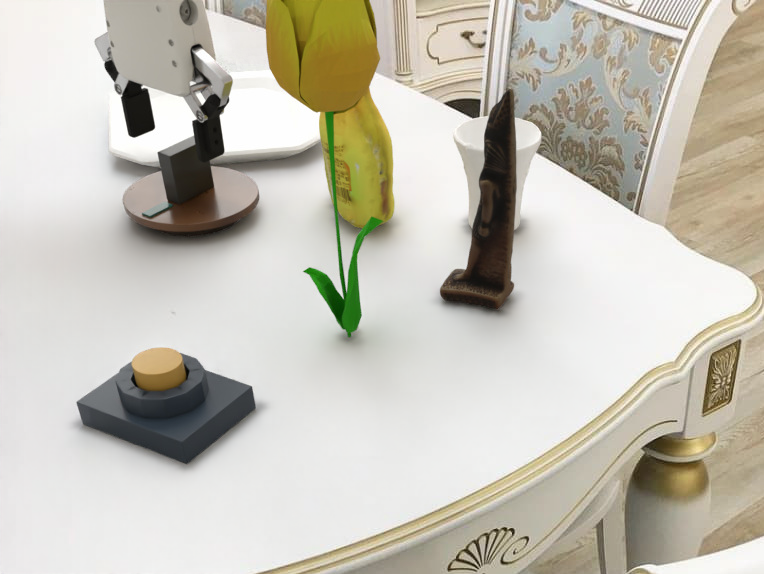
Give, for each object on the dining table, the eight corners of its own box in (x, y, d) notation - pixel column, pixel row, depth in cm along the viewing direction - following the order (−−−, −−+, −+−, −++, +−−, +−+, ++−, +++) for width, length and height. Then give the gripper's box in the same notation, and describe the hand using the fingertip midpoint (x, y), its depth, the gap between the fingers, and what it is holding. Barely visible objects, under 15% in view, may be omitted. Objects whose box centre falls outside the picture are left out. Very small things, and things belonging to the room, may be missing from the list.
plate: (309, 84, 144) (307, 66, 143) (334, 164, 128) (332, 144, 126) (112, 98, 140) (108, 79, 138) (112, 182, 123) (107, 162, 122)
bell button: (125, 384, 90) (120, 365, 88) (158, 360, 92) (154, 342, 91) (164, 398, 88) (159, 379, 87) (196, 374, 91) (192, 355, 90)
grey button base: (82, 424, 92) (69, 383, 89) (155, 372, 97) (145, 331, 94) (187, 464, 88) (177, 422, 85) (256, 408, 94) (249, 367, 91)
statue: (454, 282, 109) (449, 66, 95) (521, 295, 108) (527, 78, 93) (438, 302, 107) (431, 83, 92) (507, 316, 105) (511, 96, 91)
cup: (435, 227, 117) (432, 131, 110) (494, 199, 122) (494, 105, 115) (497, 255, 113) (498, 157, 106) (555, 225, 118) (560, 129, 111)
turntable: (191, 162, 124) (181, 108, 120) (286, 194, 119) (279, 139, 115) (95, 208, 116) (81, 152, 111) (193, 244, 110) (182, 187, 106)
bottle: (313, 196, 122) (290, -6, 107) (368, 186, 124) (353, -13, 109) (349, 244, 114) (330, 34, 100) (407, 232, 116) (396, 25, 102)
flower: (298, 360, 99) (247, -14, 77) (308, 313, 105) (263, -48, 83) (395, 360, 99) (371, -12, 78) (399, 314, 105) (378, -46, 83)
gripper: (243, -37, 100) (265, 155, 112) (107, -72, 106) (143, 113, 118) (182, -18, 95) (213, 180, 107) (45, -56, 101) (88, 135, 114)
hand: (176, 145), depth 113 cm, fingers open, 9 cm apart
